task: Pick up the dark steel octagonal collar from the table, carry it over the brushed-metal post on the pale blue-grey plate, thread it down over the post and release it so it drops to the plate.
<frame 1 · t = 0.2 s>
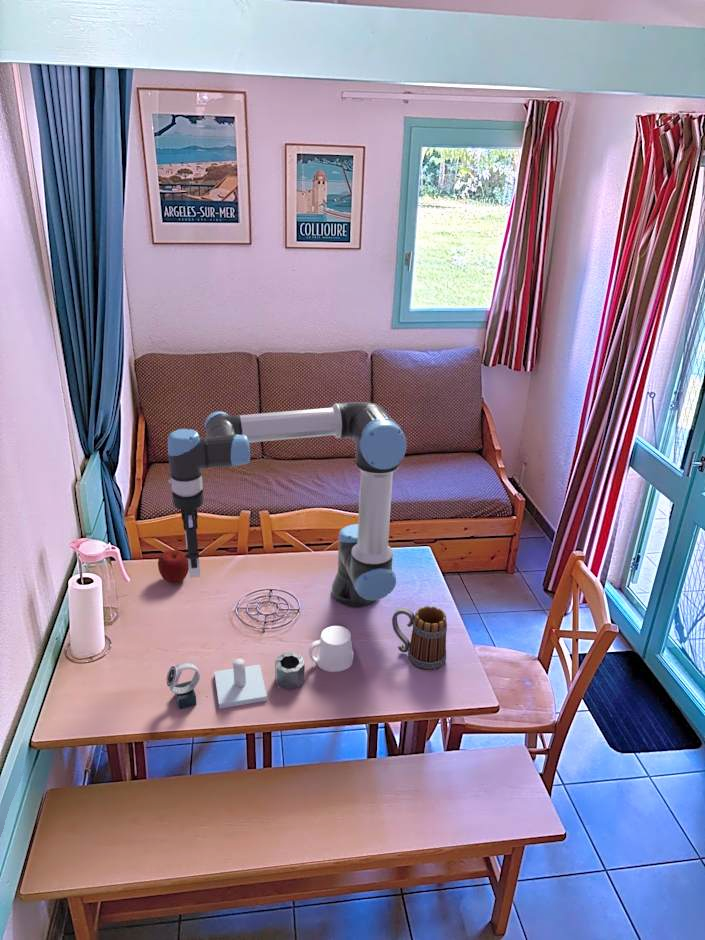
hand: (193, 561, 190), 28 cm above the table, fingers open, 13 cm apart
mug: (417, 657, 201), on the table
mug 2: (330, 663, 197), on the table
watch: (185, 700, 184), on the table
post block: (240, 688, 188), on the table
collar: (289, 679, 191), on the table
apple: (175, 580, 229), on the table
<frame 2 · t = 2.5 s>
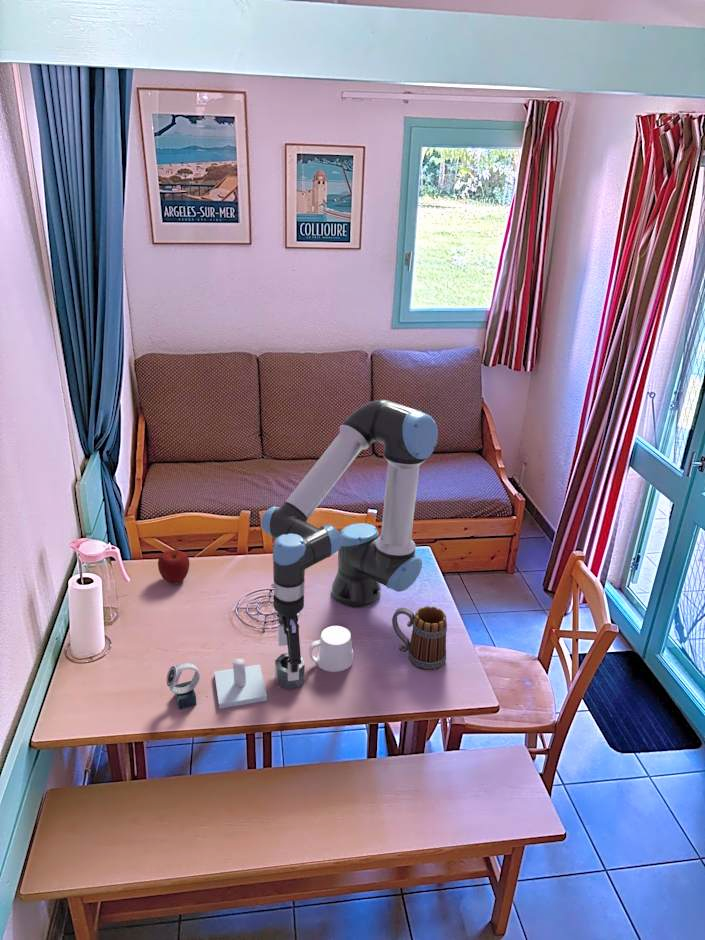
hand: (288, 661, 188), 6 cm above the table, fingers open, 13 cm apart
nothing on the table moved.
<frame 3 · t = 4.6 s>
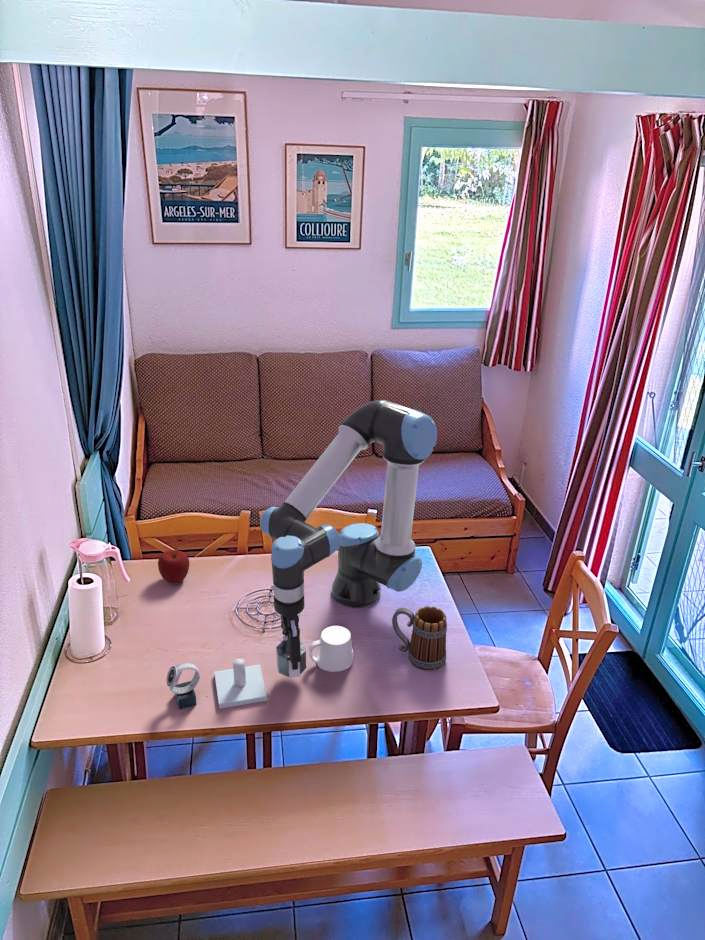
hand: (291, 665, 189), 4 cm above the table, fingers closed on collar, 7 cm apart
collar: (291, 666, 190), point 4 cm above the table, touching gripper
everything else where it was.
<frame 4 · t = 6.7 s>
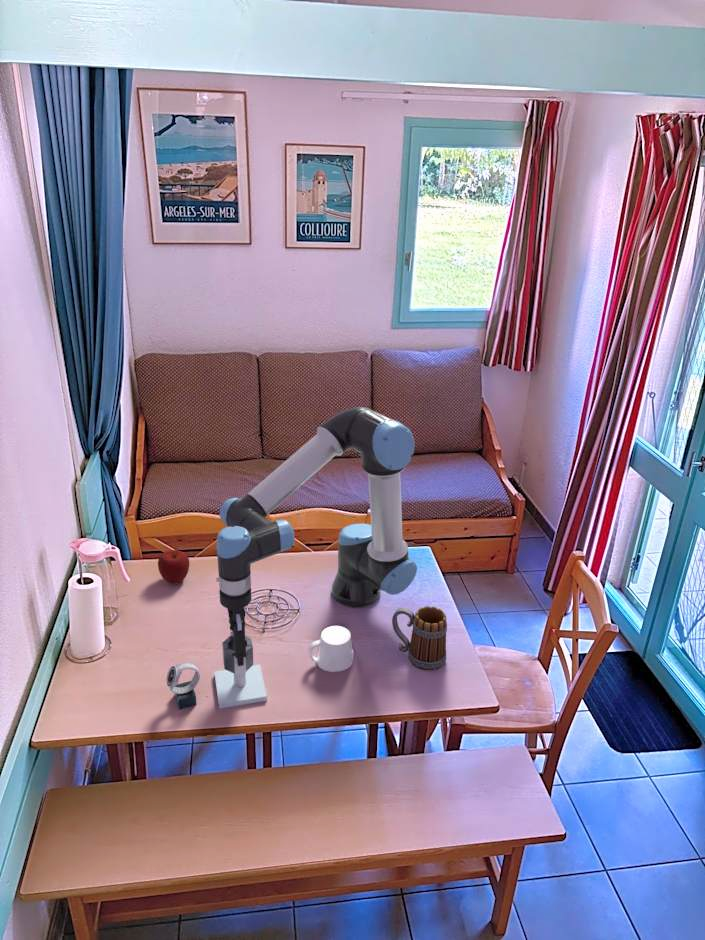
hand: (238, 662, 184), 9 cm above the table, fingers closed on collar, 7 cm apart
collar: (238, 663, 184), point 8 cm above the table, touching gripper
everything else where it was.
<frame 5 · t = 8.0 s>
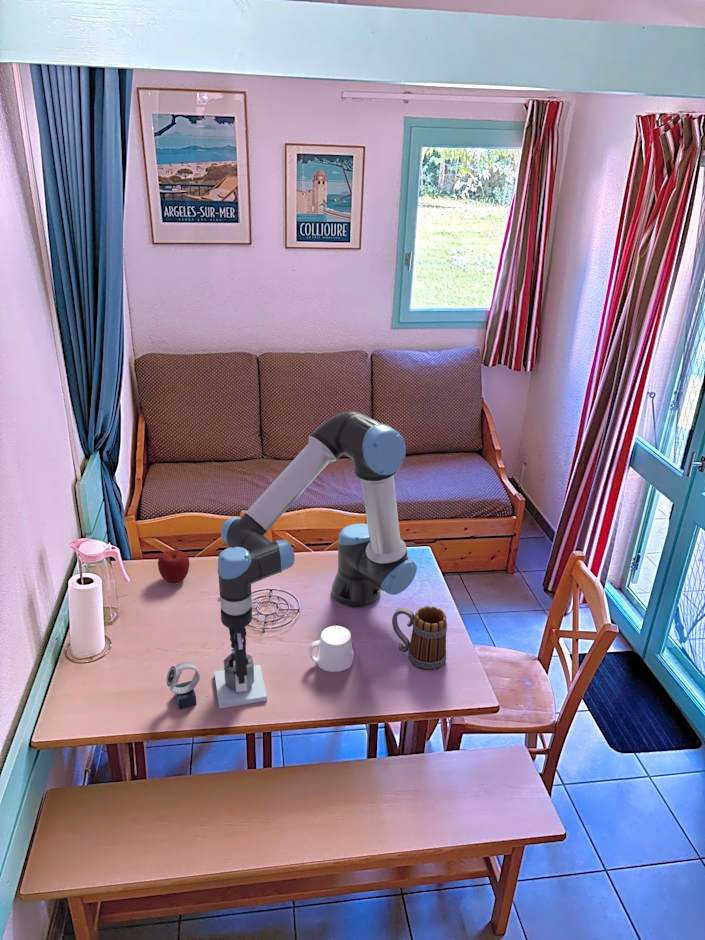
hand: (239, 679, 186), 3 cm above the table, fingers closed on collar, 7 cm apart
collar: (239, 680, 187), point 3 cm above the table, touching gripper
everything else where it was.
when the fingers open (2 cm above the table, at t = 9.0 s): collar stays where it is, resting on post block.
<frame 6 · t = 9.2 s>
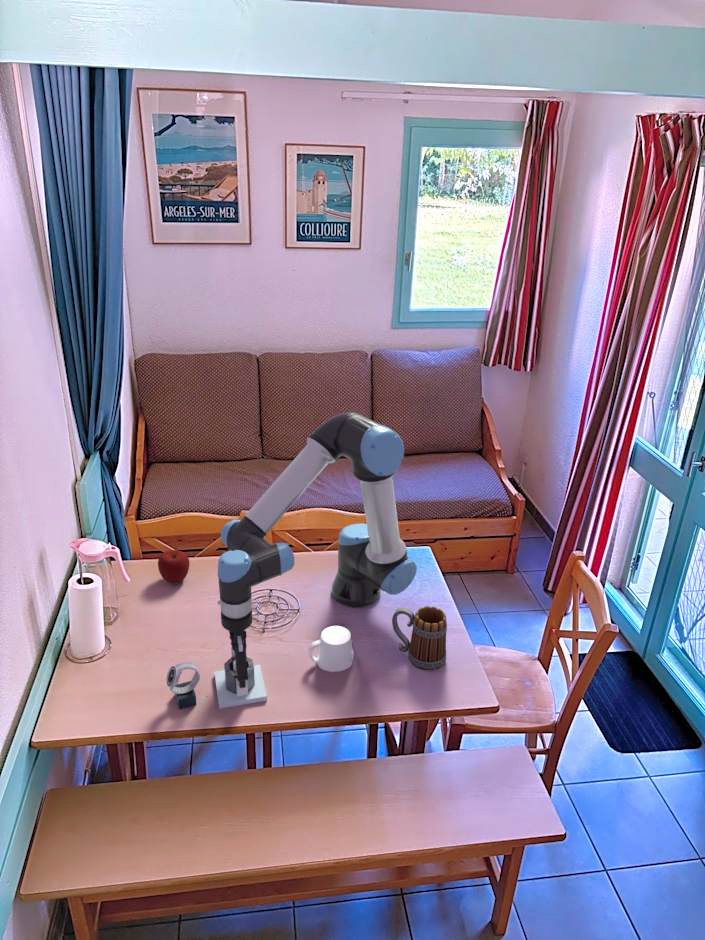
hand: (239, 680, 187), 3 cm above the table, fingers open, 9 cm apart
collar: (239, 683, 187), point 1 cm above the table, touching post block
everything else where it was.
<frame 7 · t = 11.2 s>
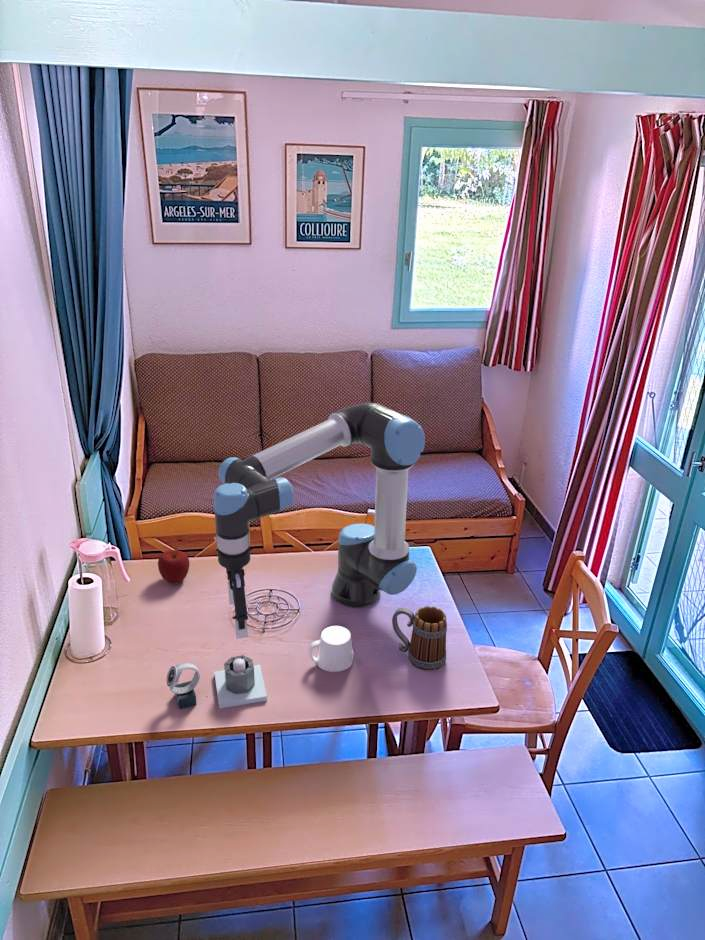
hand: (238, 619, 179), 21 cm above the table, fingers open, 13 cm apart
nothing on the table moved.
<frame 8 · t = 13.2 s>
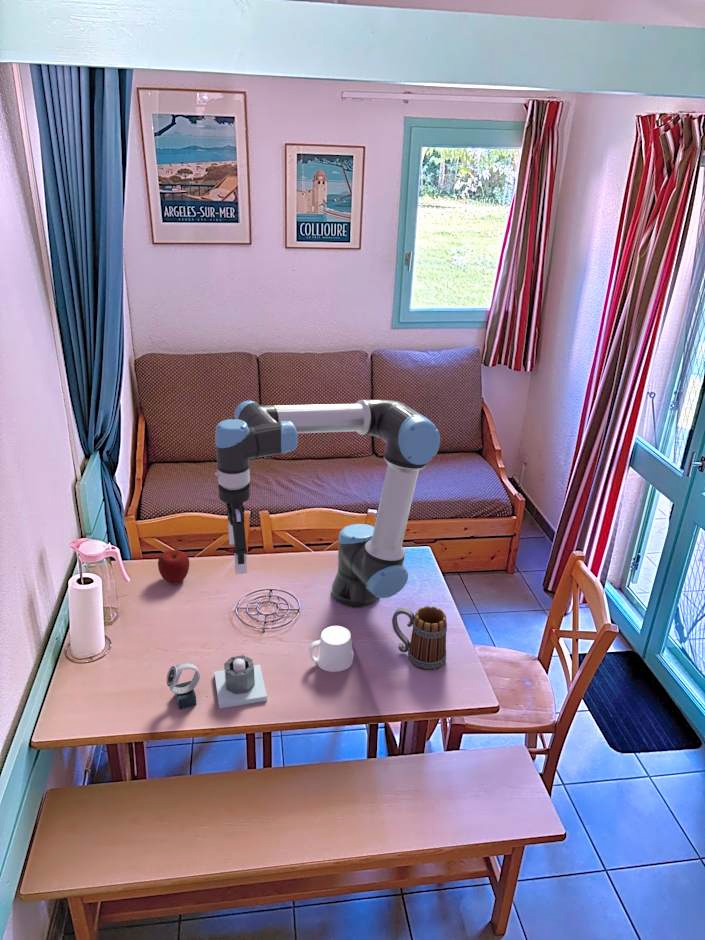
hand: (237, 557, 183), 33 cm above the table, fingers open, 13 cm apart
nothing on the table moved.
at the end: collar 0.0 cm from the post block (horizontally); collar point 1.5 cm above the table; the gripper is holding nothing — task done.
